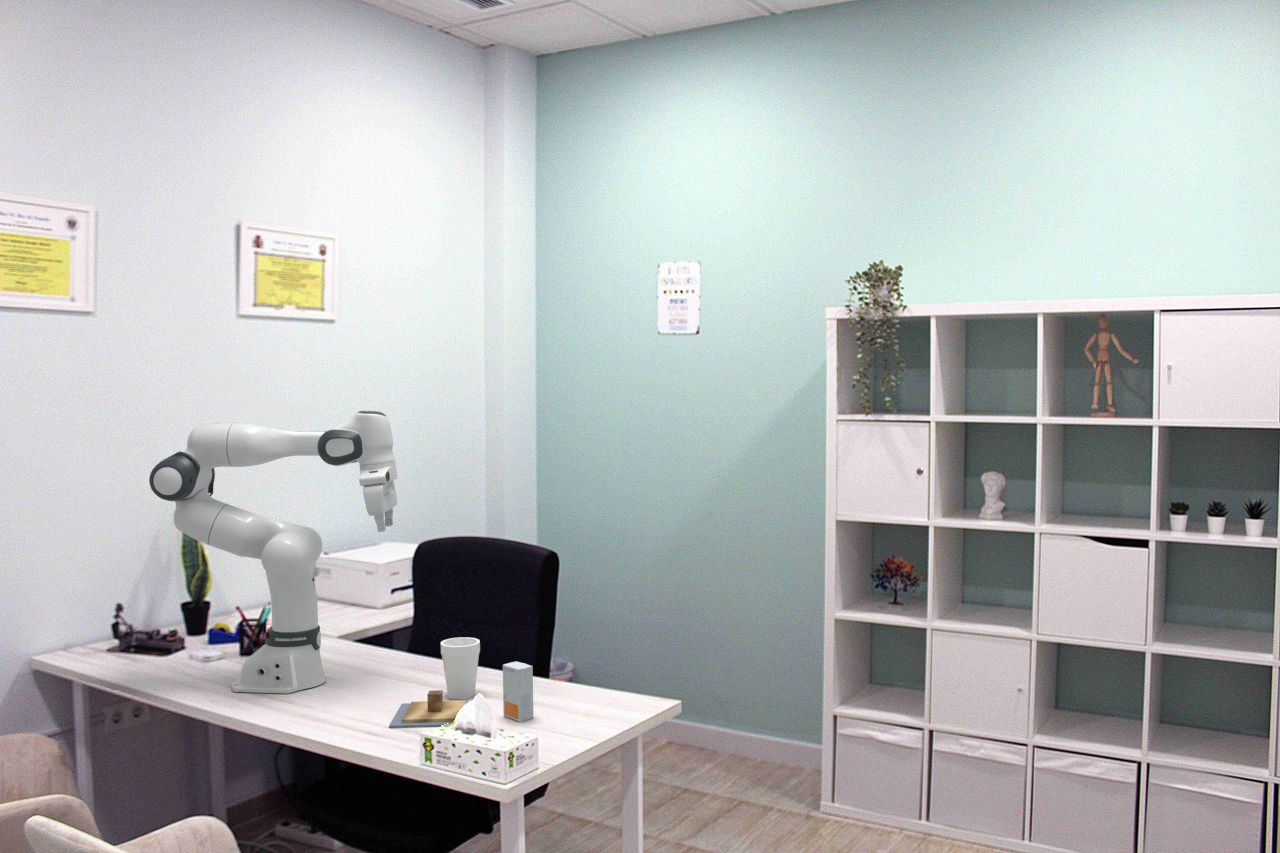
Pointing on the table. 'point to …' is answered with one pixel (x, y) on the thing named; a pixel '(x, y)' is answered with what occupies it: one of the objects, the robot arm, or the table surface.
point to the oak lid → (433, 709)
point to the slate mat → (398, 723)
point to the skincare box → (518, 691)
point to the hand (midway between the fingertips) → (385, 528)
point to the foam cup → (460, 666)
